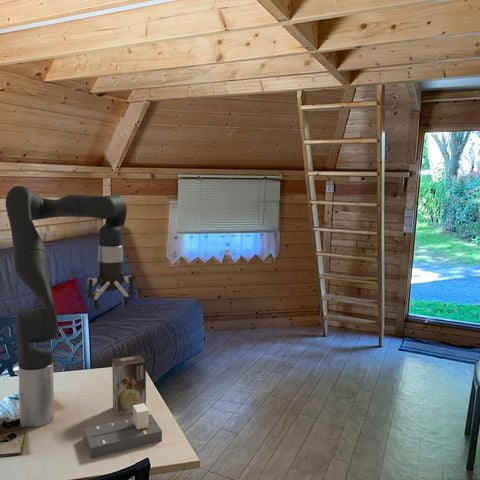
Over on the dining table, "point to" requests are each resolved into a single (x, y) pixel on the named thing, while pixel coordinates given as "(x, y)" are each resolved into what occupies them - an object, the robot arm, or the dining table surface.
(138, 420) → the fader knob
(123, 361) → the coffee box
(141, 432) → the fader console
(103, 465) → the dining table surface
